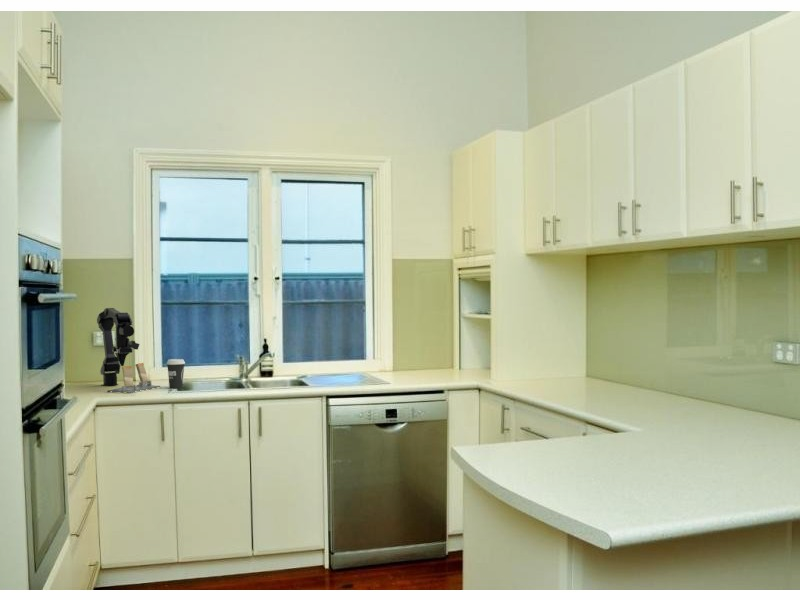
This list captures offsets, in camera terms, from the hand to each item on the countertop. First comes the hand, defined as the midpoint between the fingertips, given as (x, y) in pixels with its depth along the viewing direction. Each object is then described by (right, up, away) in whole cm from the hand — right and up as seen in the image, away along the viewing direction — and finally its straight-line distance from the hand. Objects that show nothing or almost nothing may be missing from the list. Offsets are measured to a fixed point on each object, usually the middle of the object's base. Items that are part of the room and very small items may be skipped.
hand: (122, 366), depth 351 cm
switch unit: (+7, -12, -2) cm, 14 cm away
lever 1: (+8, -10, -11) cm, 17 cm away
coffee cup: (+27, -12, +4) cm, 30 cm away
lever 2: (+10, -10, +5) cm, 15 cm away
